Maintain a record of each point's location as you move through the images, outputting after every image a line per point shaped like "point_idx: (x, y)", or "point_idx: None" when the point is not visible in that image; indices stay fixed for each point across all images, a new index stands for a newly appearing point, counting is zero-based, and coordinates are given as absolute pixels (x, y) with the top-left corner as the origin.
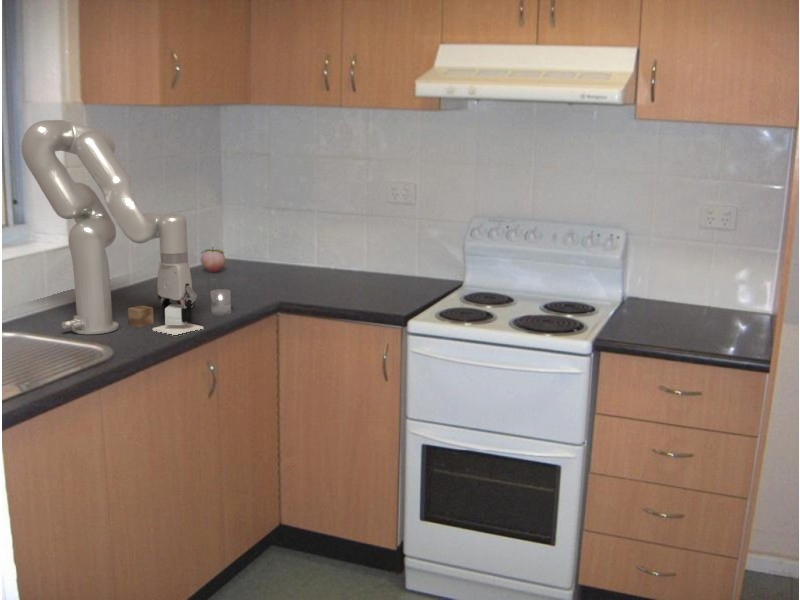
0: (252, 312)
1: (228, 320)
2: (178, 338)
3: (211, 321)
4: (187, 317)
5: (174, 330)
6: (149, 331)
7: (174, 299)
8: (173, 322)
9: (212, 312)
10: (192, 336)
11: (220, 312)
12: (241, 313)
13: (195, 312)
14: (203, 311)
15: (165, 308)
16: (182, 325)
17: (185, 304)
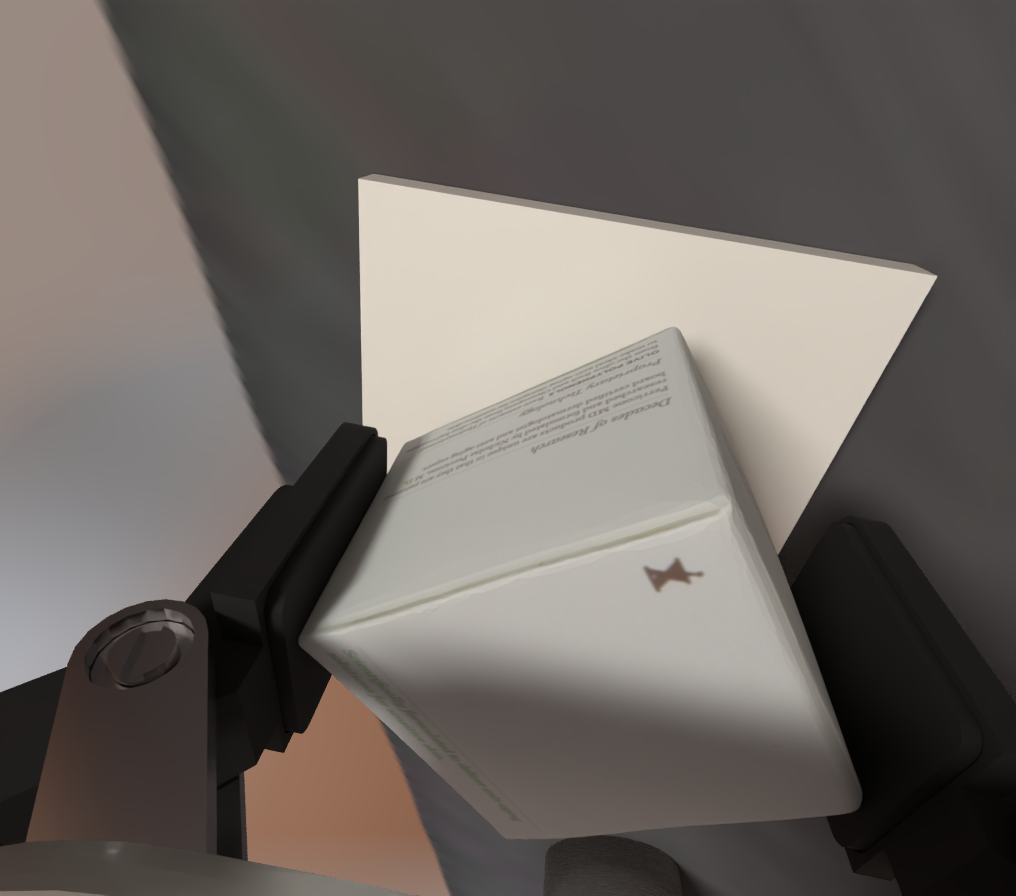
0: (451, 888)
1: (429, 771)
2: (250, 89)
3: None
4: (273, 503)
5: (508, 317)
6: (957, 210)
7: (242, 884)
8: (539, 396)
9: (646, 861)
10: (211, 286)
11: (576, 862)
12: (490, 872)
13: (805, 860)
14: (760, 879)
15: (723, 527)
16: None
17: (70, 715)
